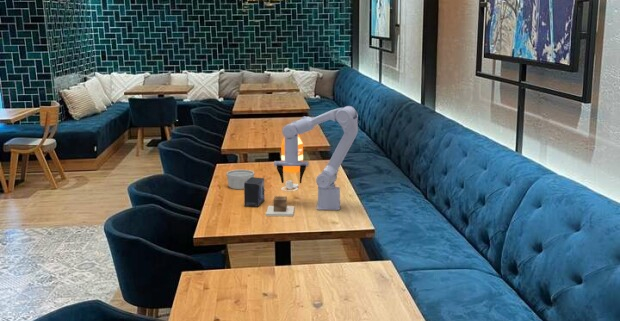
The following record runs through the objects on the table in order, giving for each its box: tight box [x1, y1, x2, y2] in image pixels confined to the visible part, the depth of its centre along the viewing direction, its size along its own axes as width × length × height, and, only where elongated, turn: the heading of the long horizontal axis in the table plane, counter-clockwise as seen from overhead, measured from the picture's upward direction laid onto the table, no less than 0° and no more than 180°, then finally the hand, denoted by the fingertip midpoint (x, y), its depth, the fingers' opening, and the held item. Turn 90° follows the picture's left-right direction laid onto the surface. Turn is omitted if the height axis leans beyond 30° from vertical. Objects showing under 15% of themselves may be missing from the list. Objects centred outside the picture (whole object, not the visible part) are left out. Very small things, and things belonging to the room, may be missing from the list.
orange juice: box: [280, 134, 304, 174], centre depth 313 cm, size 8×9×20 cm
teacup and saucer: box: [280, 180, 299, 192], centre depth 280 cm, size 9×8×4 cm
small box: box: [243, 176, 265, 208], centre depth 255 cm, size 11×6×10 cm, turn 168°
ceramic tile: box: [265, 205, 295, 217], centre depth 244 cm, size 11×11×1 cm
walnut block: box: [273, 195, 288, 212], centre depth 243 cm, size 5×5×5 cm
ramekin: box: [226, 169, 255, 190], centre depth 283 cm, size 13×13×7 cm
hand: (291, 182), depth 254 cm, fingers open, 7 cm apart
